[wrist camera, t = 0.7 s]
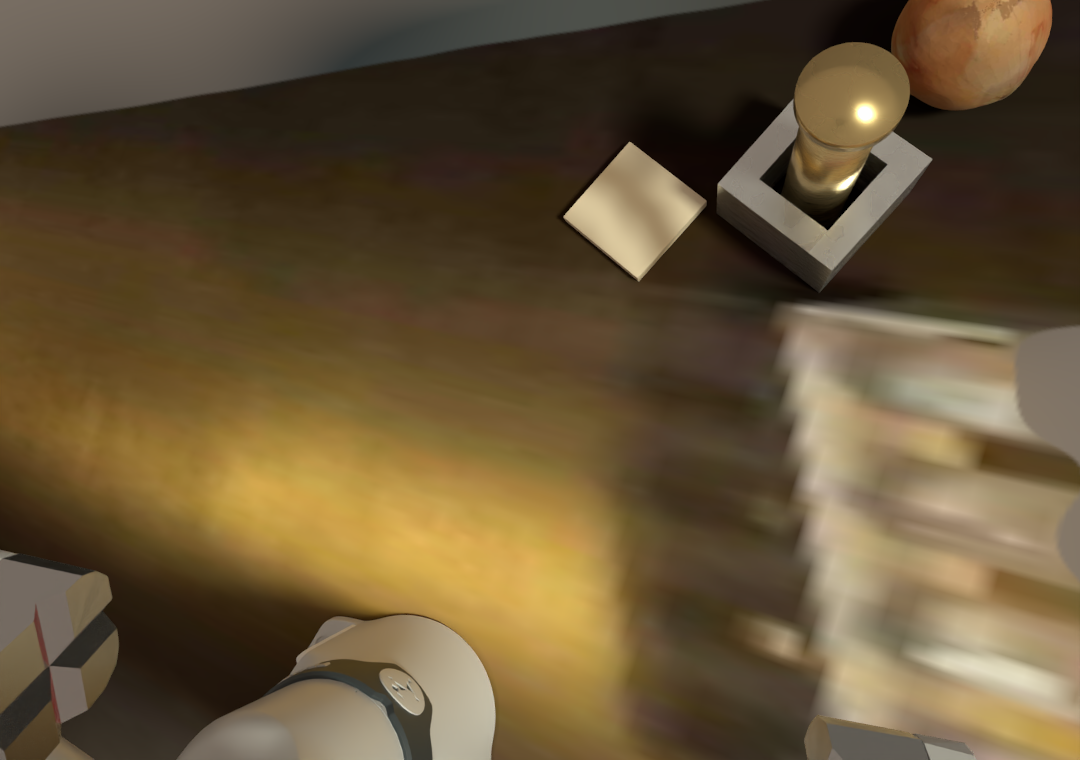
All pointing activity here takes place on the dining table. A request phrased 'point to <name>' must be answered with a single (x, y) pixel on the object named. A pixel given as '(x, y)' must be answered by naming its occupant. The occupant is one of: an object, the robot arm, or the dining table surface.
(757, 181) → the housing
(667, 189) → the coaster
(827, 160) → the cover plug
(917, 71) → the onion
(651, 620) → the dining table surface
